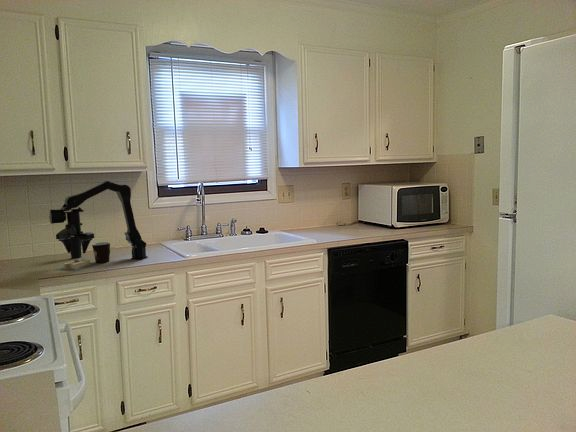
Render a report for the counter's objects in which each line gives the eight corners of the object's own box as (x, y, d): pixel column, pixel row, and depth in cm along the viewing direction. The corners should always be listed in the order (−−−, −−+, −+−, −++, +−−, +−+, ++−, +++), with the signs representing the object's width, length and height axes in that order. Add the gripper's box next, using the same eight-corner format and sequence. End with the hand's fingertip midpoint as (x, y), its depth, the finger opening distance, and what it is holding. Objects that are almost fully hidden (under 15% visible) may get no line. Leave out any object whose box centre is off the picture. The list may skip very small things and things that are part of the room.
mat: (100, 264, 239) (100, 263, 239) (77, 271, 224) (77, 271, 224) (77, 263, 244) (77, 262, 244) (53, 270, 229) (53, 269, 229)
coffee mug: (93, 262, 246) (91, 243, 245) (111, 260, 249) (109, 241, 248) (94, 266, 235) (92, 246, 234) (112, 264, 239) (111, 244, 238)
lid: (90, 264, 237) (89, 258, 237) (75, 269, 228) (75, 262, 228) (79, 264, 240) (78, 257, 239) (64, 268, 230) (63, 261, 230)
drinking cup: (69, 257, 260) (66, 221, 257) (84, 256, 262) (81, 220, 260) (68, 260, 253) (64, 223, 250) (83, 259, 255) (80, 222, 253)
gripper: (45, 223, 227) (48, 255, 229) (77, 224, 221) (80, 257, 223) (63, 220, 237) (66, 251, 239) (93, 221, 231) (96, 252, 233)
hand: (76, 253), depth 233 cm, fingers open, 9 cm apart
